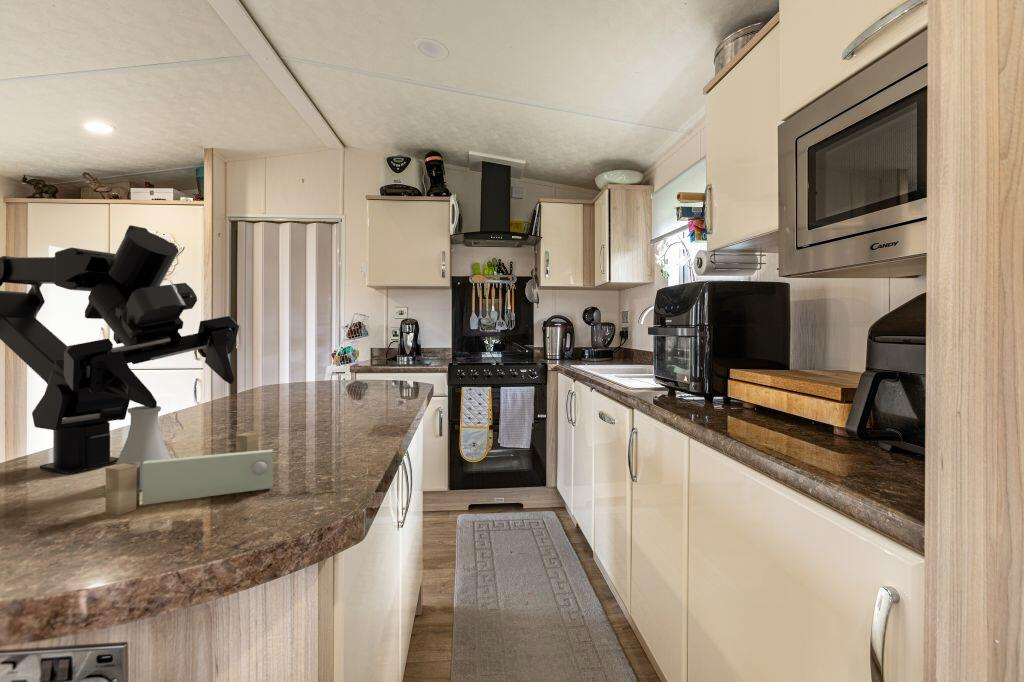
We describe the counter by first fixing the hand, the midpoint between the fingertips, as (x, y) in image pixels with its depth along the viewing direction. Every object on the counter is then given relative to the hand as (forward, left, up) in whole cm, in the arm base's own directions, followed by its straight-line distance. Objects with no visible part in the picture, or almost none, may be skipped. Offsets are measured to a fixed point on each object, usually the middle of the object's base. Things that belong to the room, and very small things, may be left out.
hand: (196, 392), depth 58 cm
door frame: (-1, 0, -12) cm, 12 cm away
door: (+5, -2, -12) cm, 13 cm away
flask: (-8, -1, -13) cm, 15 cm away
